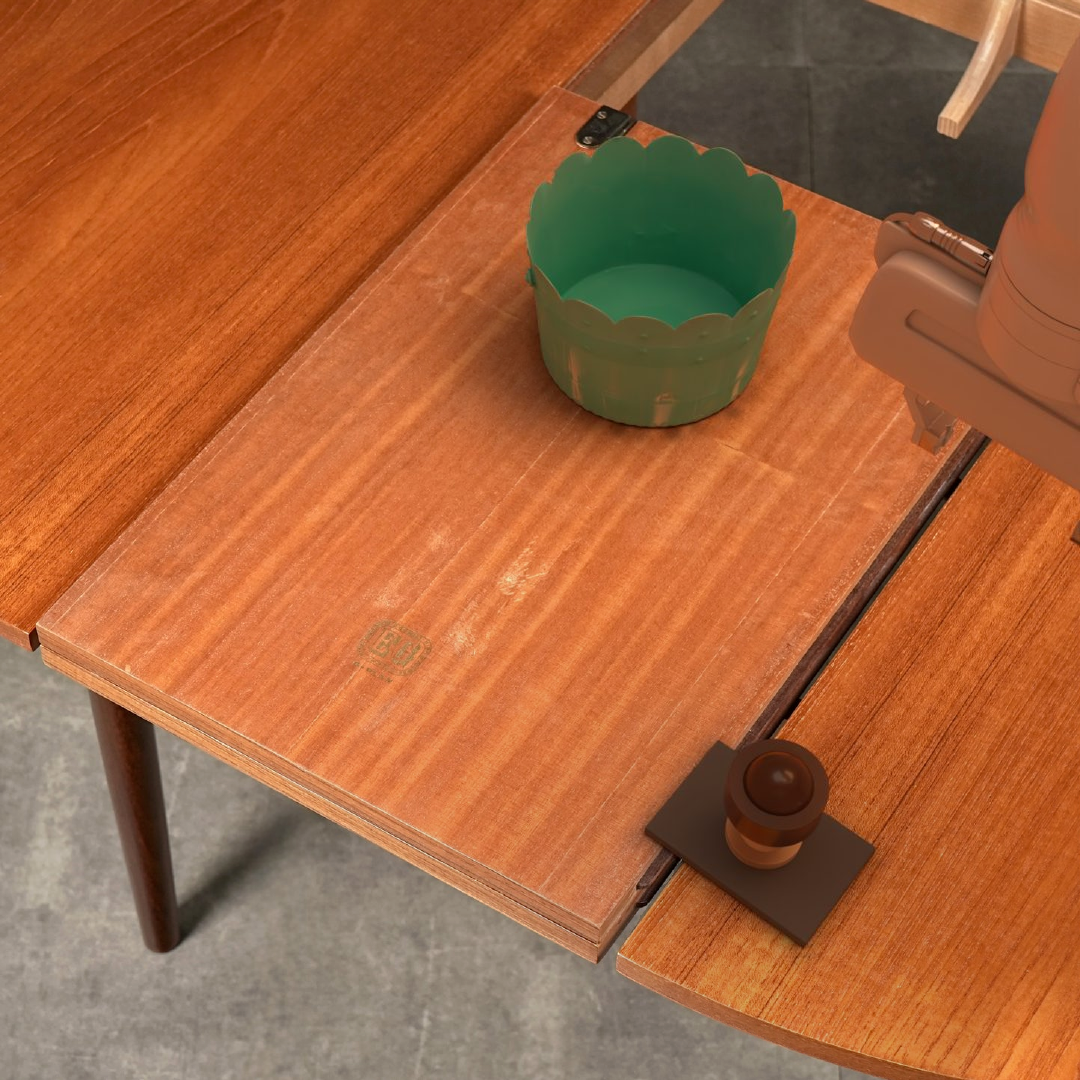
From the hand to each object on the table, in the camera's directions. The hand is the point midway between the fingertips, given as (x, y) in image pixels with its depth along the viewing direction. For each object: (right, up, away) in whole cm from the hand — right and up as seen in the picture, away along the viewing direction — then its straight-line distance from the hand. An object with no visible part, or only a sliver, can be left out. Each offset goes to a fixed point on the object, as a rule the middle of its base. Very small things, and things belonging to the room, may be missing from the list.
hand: (1007, 490), depth 87 cm
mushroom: (-10, -21, +19) cm, 30 cm away
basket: (-16, +12, +43) cm, 48 cm away
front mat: (-10, -21, +20) cm, 31 cm away
